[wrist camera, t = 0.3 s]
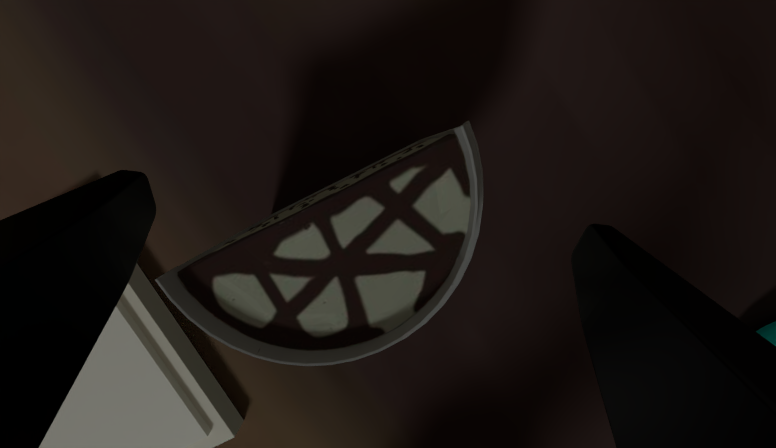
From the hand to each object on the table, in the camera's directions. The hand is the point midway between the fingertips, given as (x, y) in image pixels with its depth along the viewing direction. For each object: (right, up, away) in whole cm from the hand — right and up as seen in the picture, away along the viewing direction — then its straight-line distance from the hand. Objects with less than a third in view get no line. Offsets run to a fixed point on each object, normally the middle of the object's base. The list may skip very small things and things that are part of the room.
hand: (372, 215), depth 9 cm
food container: (-1, 0, +15) cm, 15 cm away
